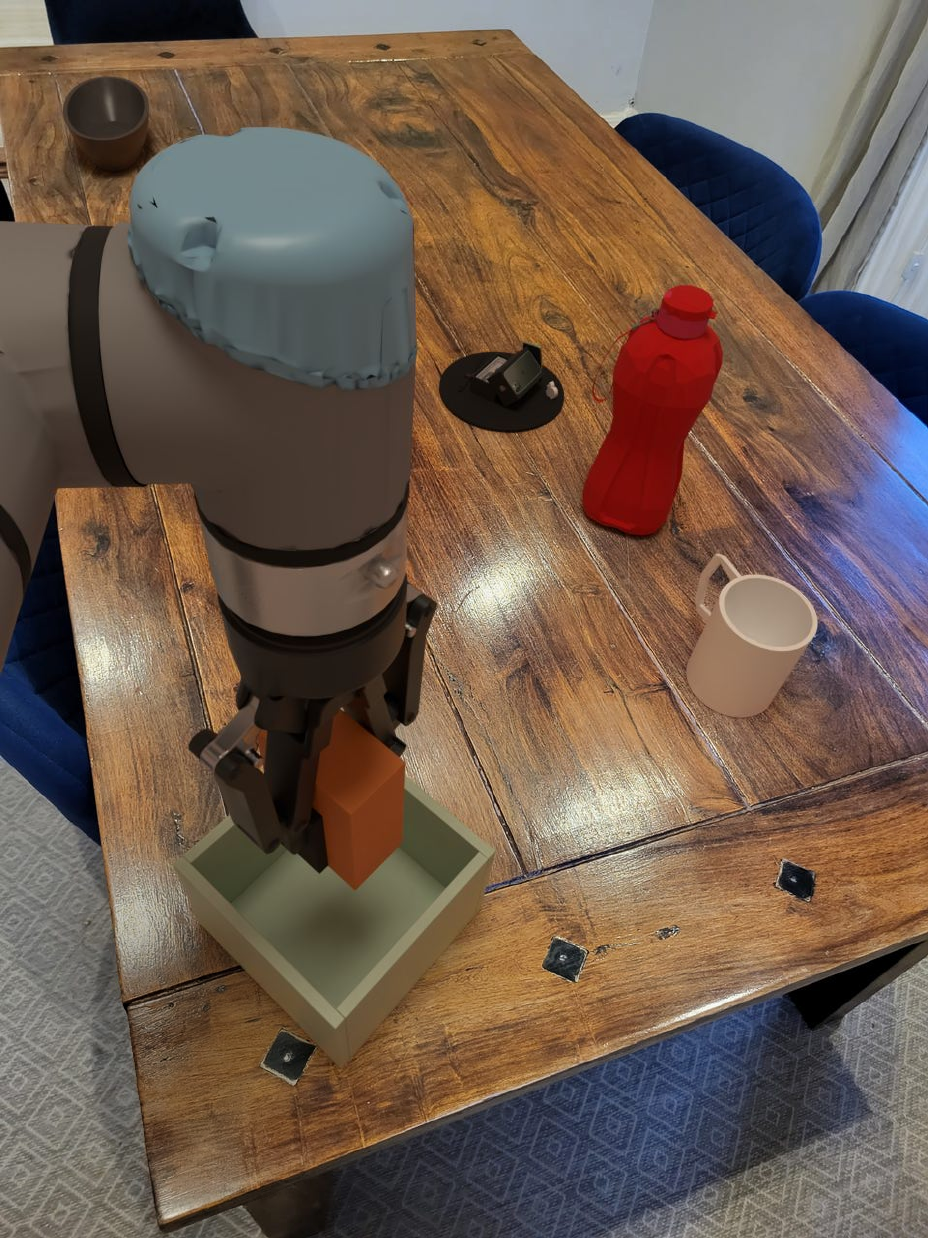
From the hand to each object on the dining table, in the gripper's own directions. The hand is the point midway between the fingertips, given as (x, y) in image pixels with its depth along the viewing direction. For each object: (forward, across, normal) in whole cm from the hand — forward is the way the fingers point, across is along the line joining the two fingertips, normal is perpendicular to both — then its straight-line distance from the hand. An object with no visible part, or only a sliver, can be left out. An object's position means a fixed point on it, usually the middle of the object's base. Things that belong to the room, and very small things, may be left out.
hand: (336, 827), depth 53 cm
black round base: (+15, +57, +31) cm, 67 cm away
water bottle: (+15, +51, +10) cm, 54 cm away
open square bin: (+15, 0, 0) cm, 15 cm away
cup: (+15, +40, -9) cm, 44 cm away
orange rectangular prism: (0, 0, 0) cm, 0 cm away
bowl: (+15, +60, +110) cm, 126 cm away
